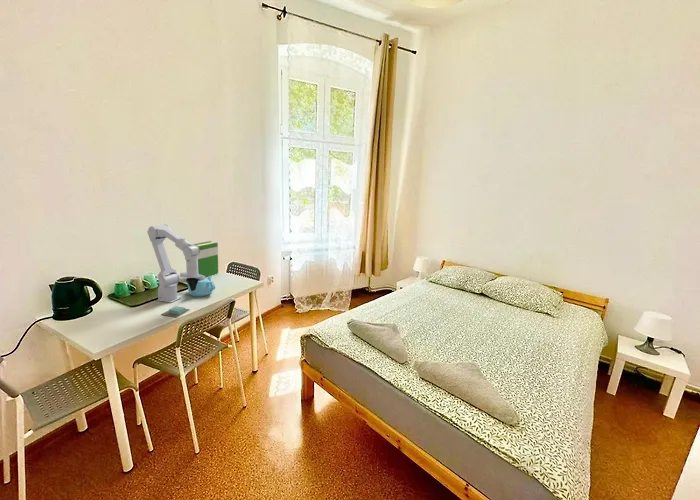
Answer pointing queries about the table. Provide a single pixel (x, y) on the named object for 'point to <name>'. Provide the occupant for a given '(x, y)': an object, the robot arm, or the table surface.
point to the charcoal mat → (173, 314)
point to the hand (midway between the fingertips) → (193, 290)
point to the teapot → (202, 287)
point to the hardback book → (207, 258)
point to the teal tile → (177, 310)
